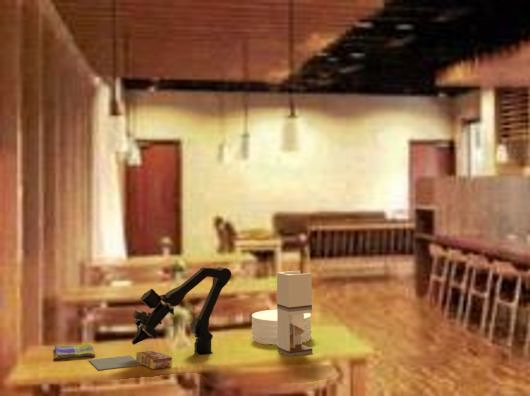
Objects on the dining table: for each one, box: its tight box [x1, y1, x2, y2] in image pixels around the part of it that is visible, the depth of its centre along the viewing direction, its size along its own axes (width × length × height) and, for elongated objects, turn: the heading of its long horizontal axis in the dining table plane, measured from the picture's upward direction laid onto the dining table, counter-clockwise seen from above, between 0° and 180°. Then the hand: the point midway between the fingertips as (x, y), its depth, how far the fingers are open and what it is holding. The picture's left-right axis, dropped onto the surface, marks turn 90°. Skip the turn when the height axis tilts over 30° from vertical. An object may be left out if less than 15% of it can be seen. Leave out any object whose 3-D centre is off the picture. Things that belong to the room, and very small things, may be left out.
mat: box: [88, 354, 143, 372], centre depth 332 cm, size 18×18×1 cm
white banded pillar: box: [276, 270, 313, 357], centre depth 346 cm, size 11×11×35 cm
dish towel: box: [53, 342, 96, 361], centre depth 350 cm, size 18×24×3 cm
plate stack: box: [251, 309, 312, 346], centre depth 375 cm, size 28×28×12 cm
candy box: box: [135, 350, 173, 370], centre depth 328 cm, size 9×4×15 cm
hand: (132, 343), depth 335 cm, fingers closed
